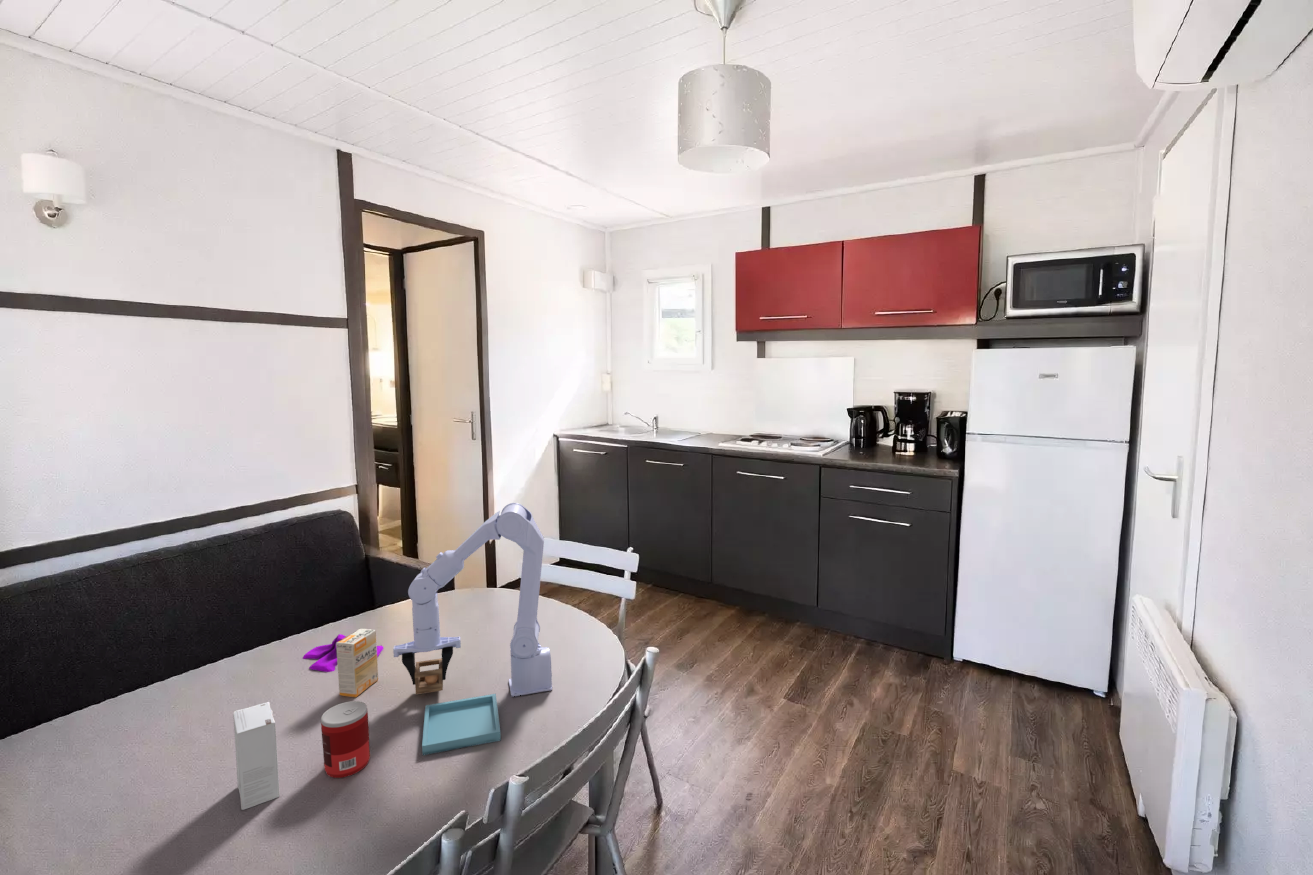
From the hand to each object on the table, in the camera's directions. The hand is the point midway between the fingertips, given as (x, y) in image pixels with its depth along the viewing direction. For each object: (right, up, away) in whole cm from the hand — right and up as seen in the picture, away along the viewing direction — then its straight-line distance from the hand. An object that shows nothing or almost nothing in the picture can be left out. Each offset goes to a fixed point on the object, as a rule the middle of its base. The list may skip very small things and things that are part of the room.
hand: (429, 680), depth 141 cm
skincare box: (-19, -8, -32) cm, 38 cm away
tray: (+12, -5, -12) cm, 18 cm away
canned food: (-6, -7, -25) cm, 26 cm away
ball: (0, +1, 0) cm, 1 cm away
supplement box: (-18, -3, +3) cm, 18 cm away
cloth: (-31, -2, +21) cm, 37 cm away
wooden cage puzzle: (0, -1, 0) cm, 2 cm away
